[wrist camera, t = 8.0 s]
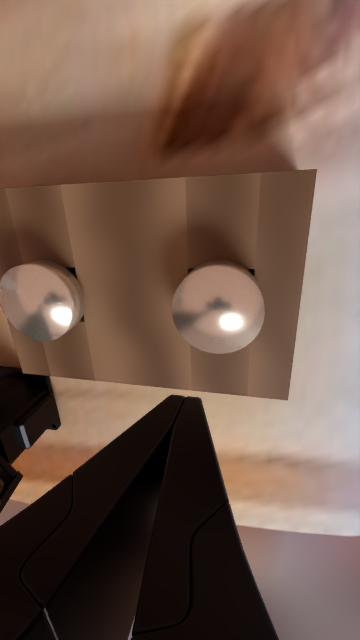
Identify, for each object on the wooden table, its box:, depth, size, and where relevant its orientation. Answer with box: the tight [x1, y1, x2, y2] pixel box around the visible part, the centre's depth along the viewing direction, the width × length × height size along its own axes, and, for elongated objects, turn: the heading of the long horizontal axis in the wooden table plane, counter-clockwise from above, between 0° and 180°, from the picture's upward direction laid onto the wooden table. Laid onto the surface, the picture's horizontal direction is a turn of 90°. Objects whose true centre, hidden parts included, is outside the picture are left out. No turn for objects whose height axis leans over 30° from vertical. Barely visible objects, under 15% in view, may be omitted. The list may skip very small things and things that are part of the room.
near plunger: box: [172, 260, 265, 354], centre depth 17 cm, size 4×4×6 cm
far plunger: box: [0, 260, 85, 341], centre depth 19 cm, size 4×4×6 cm
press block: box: [0, 169, 317, 400], centre depth 19 cm, size 18×12×4 cm, turn 94°
